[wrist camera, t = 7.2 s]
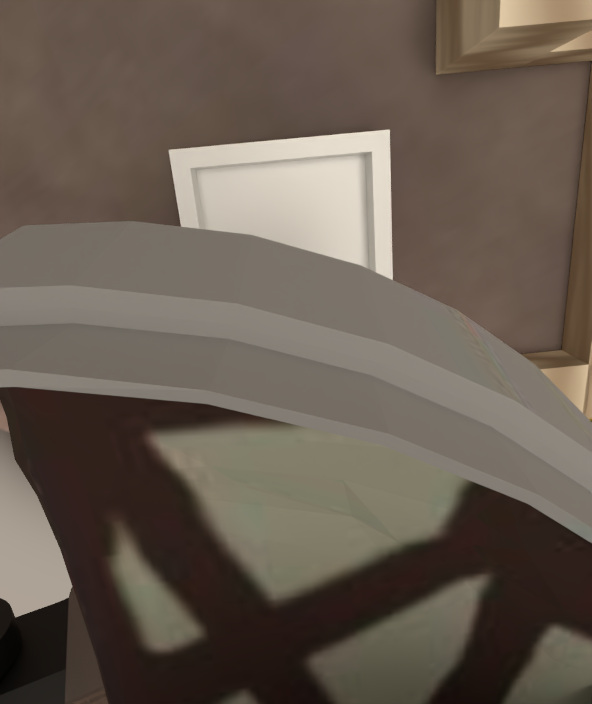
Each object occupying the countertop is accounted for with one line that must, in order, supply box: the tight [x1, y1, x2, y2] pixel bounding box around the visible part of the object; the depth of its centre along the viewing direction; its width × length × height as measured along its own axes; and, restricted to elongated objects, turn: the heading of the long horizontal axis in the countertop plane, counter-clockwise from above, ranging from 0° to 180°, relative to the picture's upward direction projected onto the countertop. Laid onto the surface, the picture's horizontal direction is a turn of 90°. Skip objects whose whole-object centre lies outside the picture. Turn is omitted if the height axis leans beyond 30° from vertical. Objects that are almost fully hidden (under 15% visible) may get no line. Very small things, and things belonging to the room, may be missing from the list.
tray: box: [169, 130, 393, 280], centre depth 29 cm, size 12×18×3 cm, turn 5°
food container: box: [0, 221, 592, 704], centre depth 9 cm, size 12×6×10 cm, turn 7°
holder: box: [436, 0, 592, 419], centre depth 26 cm, size 11×26×8 cm, turn 5°
